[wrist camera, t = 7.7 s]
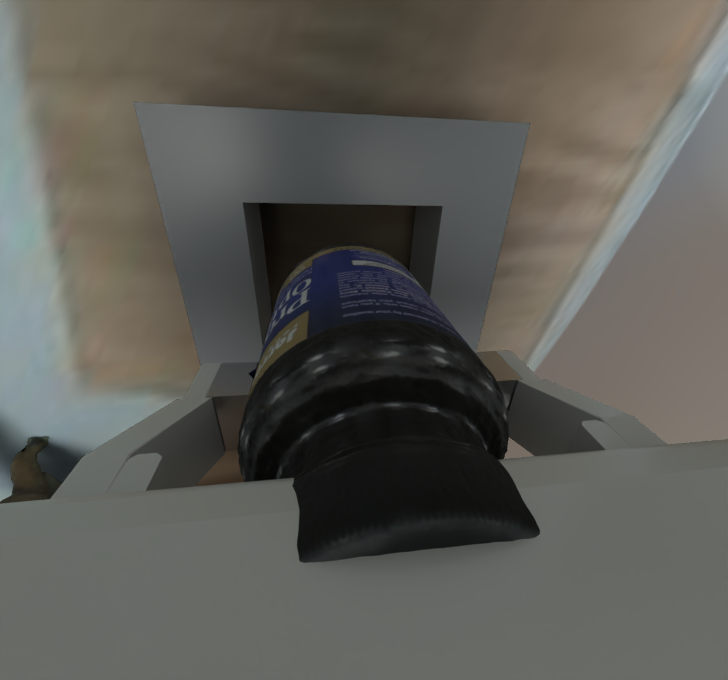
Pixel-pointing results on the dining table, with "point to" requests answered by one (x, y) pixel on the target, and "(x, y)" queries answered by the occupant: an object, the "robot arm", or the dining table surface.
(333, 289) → the pill bottle
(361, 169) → the socket block
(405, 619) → the robot arm
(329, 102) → the dining table surface
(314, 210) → the dining table surface
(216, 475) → the wood grain plank
